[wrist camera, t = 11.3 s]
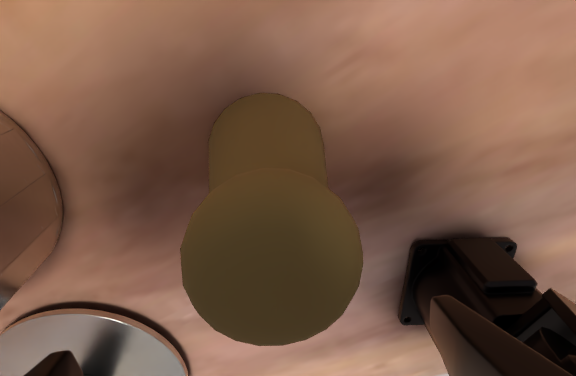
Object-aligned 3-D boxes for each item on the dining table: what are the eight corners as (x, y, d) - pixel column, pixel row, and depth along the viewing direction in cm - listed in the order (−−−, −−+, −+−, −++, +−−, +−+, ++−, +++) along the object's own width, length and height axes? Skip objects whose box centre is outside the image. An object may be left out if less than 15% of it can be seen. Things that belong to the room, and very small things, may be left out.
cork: (270, 66, 17) (285, 132, 7) (346, 154, 19) (438, 298, 9) (183, 148, 18) (95, 298, 9) (263, 221, 21) (267, 409, 11)
